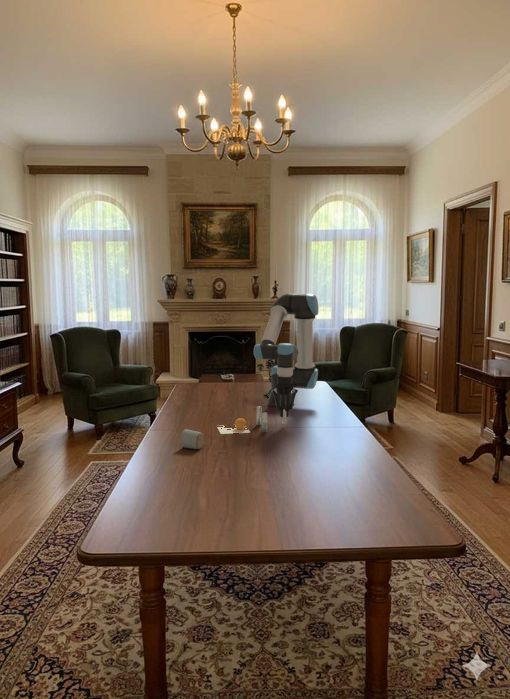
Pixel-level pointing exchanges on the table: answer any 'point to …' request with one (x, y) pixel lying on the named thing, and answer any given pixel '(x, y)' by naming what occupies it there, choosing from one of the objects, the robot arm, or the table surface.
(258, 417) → the post
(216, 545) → the table surface
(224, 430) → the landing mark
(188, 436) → the grey cylinder
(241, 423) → the ball
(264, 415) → the post
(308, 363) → the robot arm
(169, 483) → the table surface
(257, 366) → the bonsai tree
